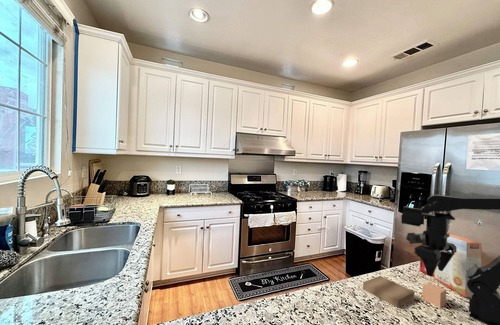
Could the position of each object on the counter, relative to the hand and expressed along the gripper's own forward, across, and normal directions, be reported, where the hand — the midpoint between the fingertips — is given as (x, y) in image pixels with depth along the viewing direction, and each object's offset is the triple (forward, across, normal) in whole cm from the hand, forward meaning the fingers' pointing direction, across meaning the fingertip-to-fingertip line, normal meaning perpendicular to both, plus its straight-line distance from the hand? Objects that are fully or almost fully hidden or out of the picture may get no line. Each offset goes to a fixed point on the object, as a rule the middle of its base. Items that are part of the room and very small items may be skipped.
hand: (435, 273), depth 76 cm
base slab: (+10, +11, -10) cm, 18 cm away
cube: (+10, 0, 0) cm, 10 cm away
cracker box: (+10, -20, 0) cm, 22 cm away
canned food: (+10, -26, -10) cm, 30 cm away
